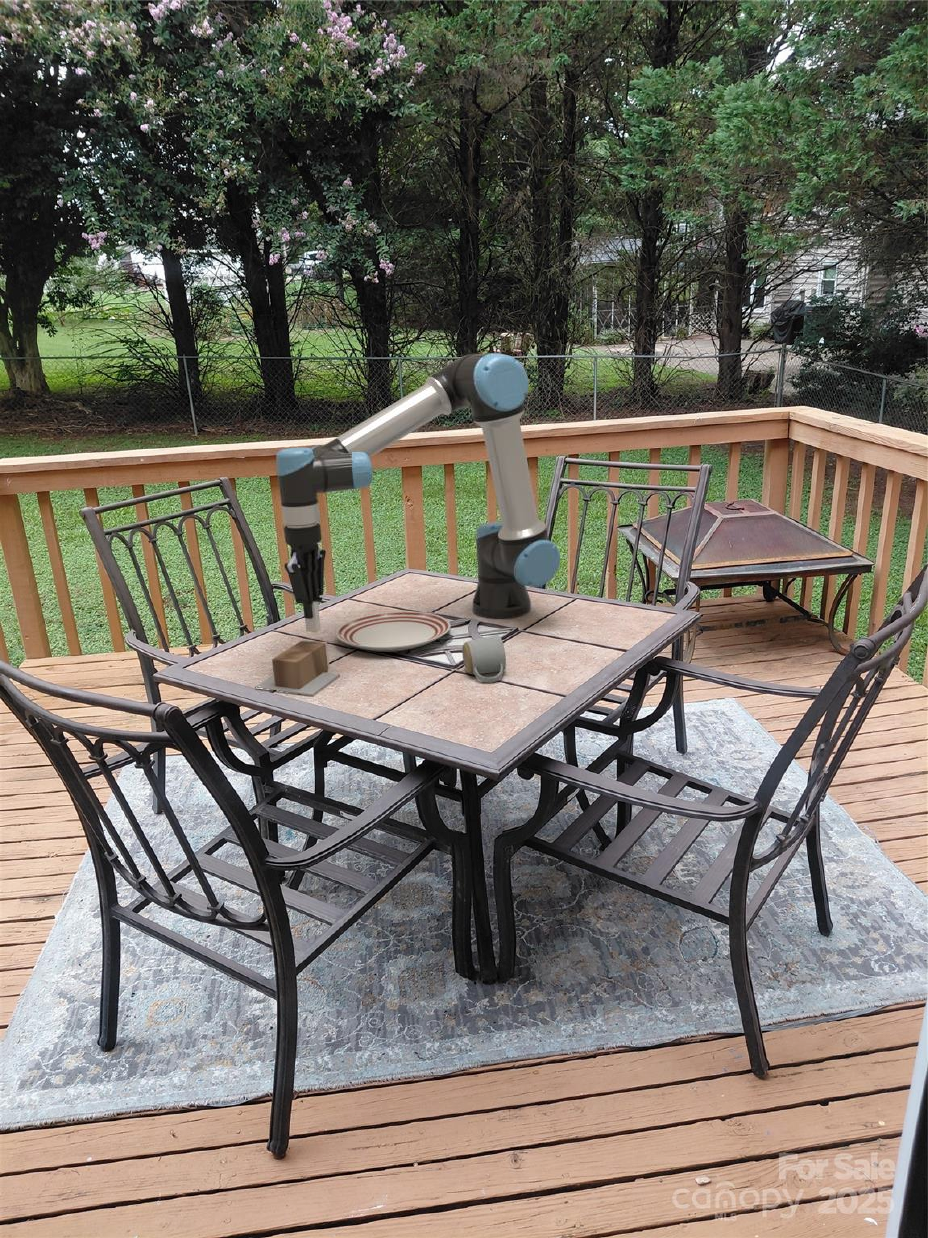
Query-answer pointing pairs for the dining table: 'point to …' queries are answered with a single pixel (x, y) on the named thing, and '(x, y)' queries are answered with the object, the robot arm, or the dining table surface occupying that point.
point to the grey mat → (308, 689)
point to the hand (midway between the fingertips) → (313, 630)
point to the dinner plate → (393, 630)
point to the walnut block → (300, 664)
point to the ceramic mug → (485, 657)
